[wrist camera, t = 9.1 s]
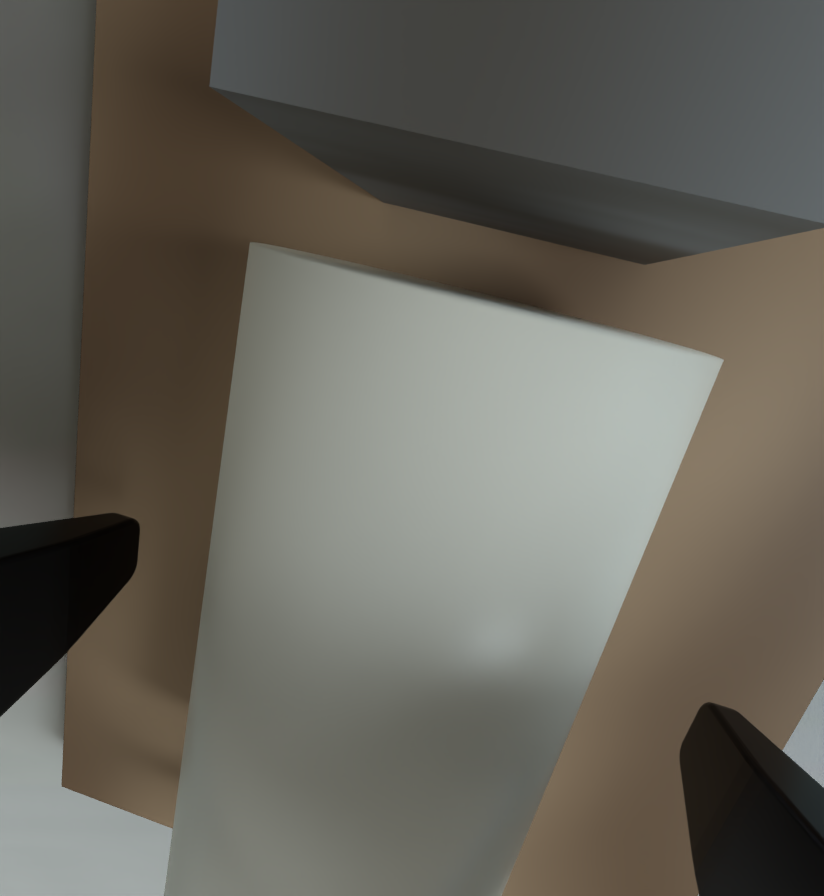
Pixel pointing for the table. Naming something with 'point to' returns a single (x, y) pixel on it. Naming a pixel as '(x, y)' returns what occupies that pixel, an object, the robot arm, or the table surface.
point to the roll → (410, 575)
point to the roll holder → (489, 272)
